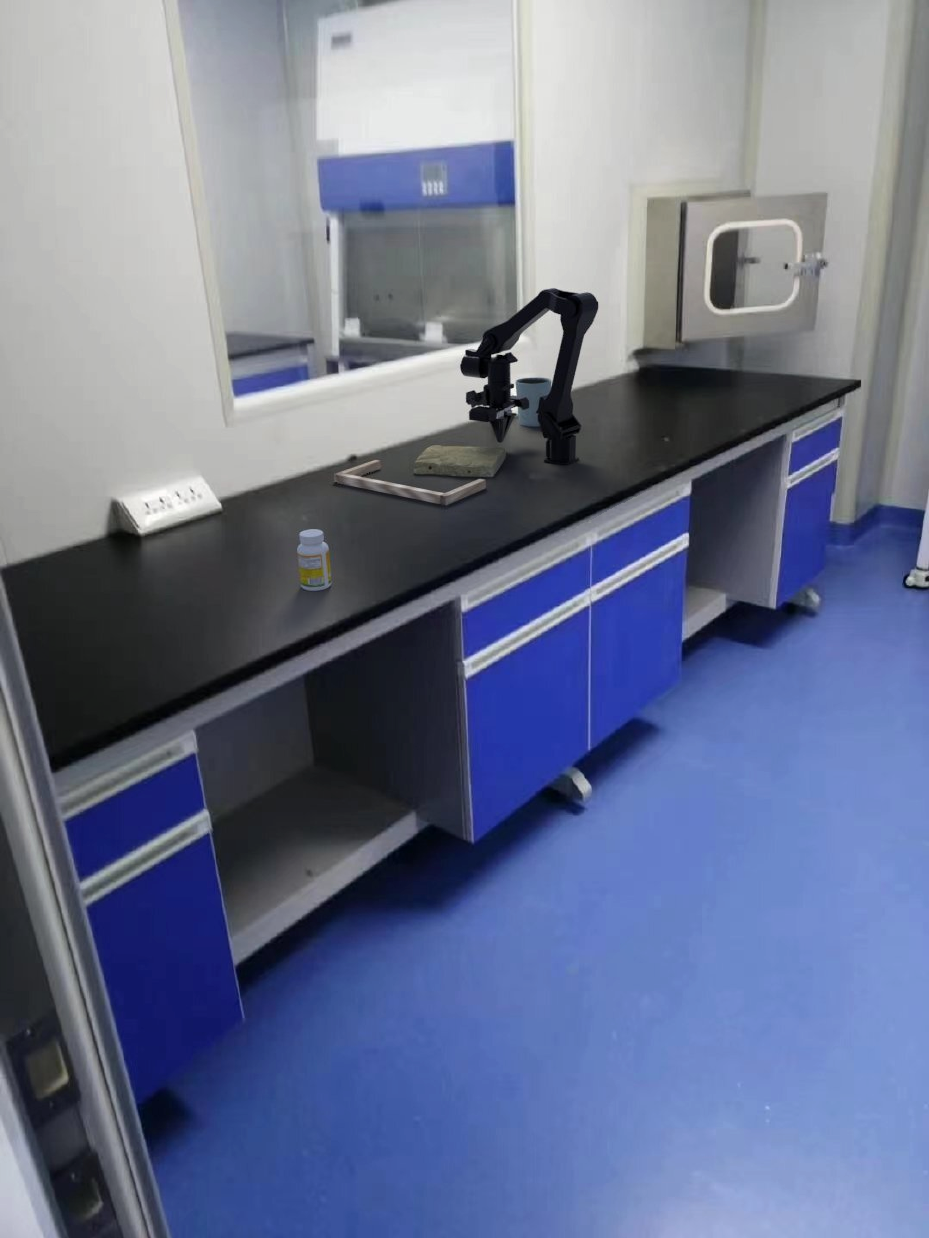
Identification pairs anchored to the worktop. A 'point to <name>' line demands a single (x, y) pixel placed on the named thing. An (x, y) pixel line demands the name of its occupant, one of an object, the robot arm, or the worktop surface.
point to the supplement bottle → (314, 561)
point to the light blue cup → (531, 398)
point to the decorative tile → (460, 461)
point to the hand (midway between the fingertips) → (500, 442)
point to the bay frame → (447, 498)
